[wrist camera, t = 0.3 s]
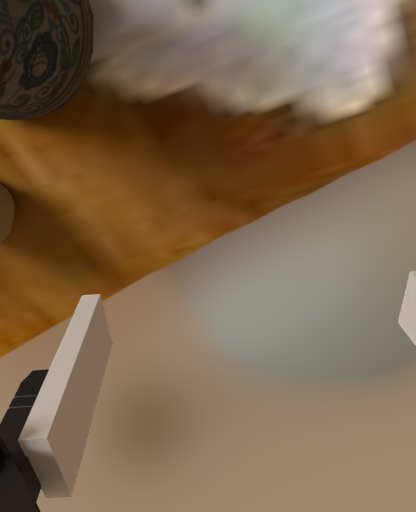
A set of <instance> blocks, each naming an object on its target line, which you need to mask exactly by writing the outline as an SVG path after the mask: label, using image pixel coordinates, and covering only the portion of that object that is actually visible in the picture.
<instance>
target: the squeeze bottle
mask: <svg viewBox="0 0 416 512" xmlns="http://www.w3.org/2000/svg"><path fill="white" fill-rule="evenodd" d="M14 213H15V204H14V199H13V197H12V196H11V194H10V192H9V191H8V189H7V188H5V187H4V186H3V185H2V184H0V244H1V243H2V242H3V241H4V240H5V239H6V238H7V237H8V236H9V235H10V231H11V227H12V224H13V219H14Z"/></svg>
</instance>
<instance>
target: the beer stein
mask: <svg viewBox="0 0 416 512" xmlns="http://www.w3.org/2000/svg"><path fill="white" fill-rule="evenodd" d="M92 52H93V13H92V10H91V7H90V4H89V1H88V0H0V119H7V120H23V119H31V118H36V117H40V116H43V115H45V114H48V113H50V112H53V111H54V110H56V109H58V108H59V107H61V106H62V105H63V104H64V103H65V102H66V101H68V100H69V99H70V98H71V96H72V95H73V94H74V93H75V92H76V90H77V89H78V87H79V86H80V84H81V83H82V81H83V78H84V76H85V74H86V72H87V69H88V66H89V63H90V60H91V55H92Z"/></svg>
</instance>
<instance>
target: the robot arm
mask: <svg viewBox="0 0 416 512" xmlns="http://www.w3.org/2000/svg"><path fill="white" fill-rule="evenodd" d="M398 323H399V324H400V326H401V327H402V328H403V330H404V331H405V332H406V334H407V335H408V336H409V338H410V339H411V340H412V342H413V343H414V344H415V346H416V271H410V275H409V278H408V282H407V287H406V291H405V295H404V299H403V303H402V307H401V311H400V316H399V320H398ZM111 347H112V340H111V336H110V332H109V328H108V324H107V320H106V315H105V311H104V307H103V303H102V299H101V295H100V294H93V295H82V297H81V299H80V301H79V303H78V306H77V308H76V310H75V312H74V315H73V317H72V319H71V321H70V324H69V326H68V328H67V330H66V333H65V335H64V337H63V339H62V342H61V344H60V346H59V349H58V351H57V353H56V356H55V358H54V360H53V362H52V364H51V367H50V369H49V370H37V371H32V372H31V373H30V374H29V375H28V376H27V377H26V378H25V379H24V380H23V381H22V382H21V384H20V386H19V389H18V390H17V392H16V394H15V398H14V399H13V400H12V402H11V404H10V406H9V409H8V410H7V412H6V414H5V416H4V418H3V420H2V422H1V424H0V512H40V510H39V508H38V506H37V504H36V501H37V498H38V495H39V492H40V489H42V491H43V493H44V495H45V497H46V498H57V497H70V496H72V493H73V490H74V485H75V482H76V478H77V474H78V471H79V467H80V463H81V459H82V456H83V452H84V448H85V444H86V441H87V437H88V433H89V429H90V426H91V422H92V418H93V414H94V411H95V406H96V403H97V399H98V396H99V392H100V388H101V384H102V381H103V377H104V373H105V369H106V366H107V362H108V358H109V354H110V351H111Z"/></svg>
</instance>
